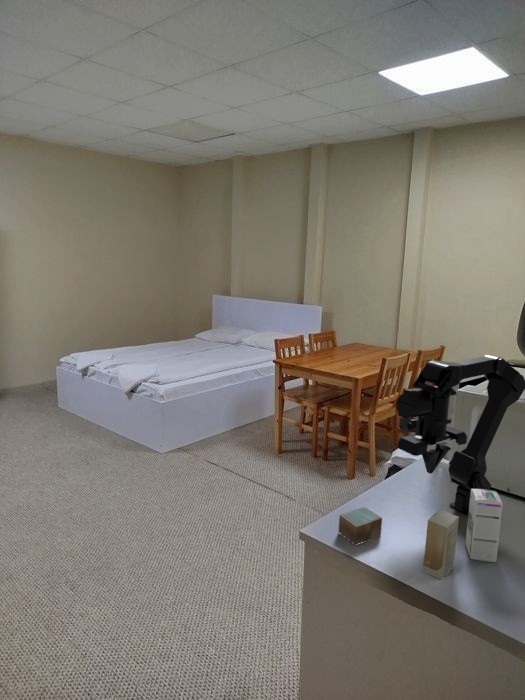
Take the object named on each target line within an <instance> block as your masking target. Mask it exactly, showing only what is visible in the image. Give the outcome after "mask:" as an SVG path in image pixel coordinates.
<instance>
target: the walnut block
mask: <svg viewBox="0 0 525 700" xmlns="http://www.w3.org/2000/svg"><path fill="white" fill-rule="evenodd" d="M338 519H339V521H338V533H339V532H340V533H341V534H342V535H343V536H345V537H346V538H347V539H349V540H350V541H351V542H353V543H354V544H355V545H356V544H358V543H361V542H364V541H367V542H369V541H368V540H370V541H372V539H373V540H375V539H378V538H380V537H382V536H381V535H382V525H383V524H382V522H383V517H381V516H379V514H376V513H375V512H373V511H372V510H370V509H369V508H367V507H366V506H363V507H360V508H357V509H354V510H351V511H350V510H349V511H347V512H344V513H340V514H339V518H338ZM342 535H341V536H342ZM343 536H342V537H343ZM346 538H345V539H346ZM347 539H346V540H347ZM351 542H350V543H351ZM364 543H365V542H364ZM355 545H354V546H355ZM356 546H357V545H356Z"/></svg>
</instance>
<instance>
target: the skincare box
mask: <svg viewBox="0 0 525 700" xmlns="http://www.w3.org/2000/svg"><path fill="white" fill-rule="evenodd" d="M459 519H460V517H459V516H458V515H455V514H454V513H453V514H452V513H449V512H447V511H445V510H442V509H439V510H437V511H436V512H435V513H433V514H432V515H431V517H429V518H428V519H427V523H426V524H427V526H426V536H425V538H426V539H425V547H424V558H423V559H424V560H423V566H422V567H423V568H422V571H423V573H424V572H425V573H427V574H429V575H430V576H433V577H435V578H437V579H439V580H441V581H442V580H443V579H445V578H446V576H447V575H449V573H450V572H451V571H452V570H453V568H454V565H455V559H456V558H455V555H456V548H457V547H456V545H457V537H458V527H459Z"/></svg>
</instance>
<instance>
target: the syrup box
mask: <svg viewBox="0 0 525 700" xmlns="http://www.w3.org/2000/svg"><path fill="white" fill-rule="evenodd" d="M503 505H504V503H503V502H502V499H501V498H500V496H499V494H498V492H497V491H496V490H486V489H471V494H470V503H469V513H468V515H467V524H466V526H467V527H466V534H465V549H466V551H467V554H468V557H469V559H471V560H474V561H475V560H476V561H482V562H489V563H490V562H491V563H497V558H498V550H499V549H498V548H499V539H500V532H501V522H502V521H501V520H502V513H503Z"/></svg>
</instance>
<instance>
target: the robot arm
mask: <svg viewBox="0 0 525 700" xmlns="http://www.w3.org/2000/svg"><path fill="white" fill-rule="evenodd" d="M480 376H481V377H482V376H484V377H485V379H486V380H487V381H488V383H487V385H486V390H487V396H488V400H487V401H486V403H485V405H484V408H483V409H482V410H483V411H482V413H481V415H480V417H479V419H478V421H477V423H476V426H475V428H474V429H473V432H472V434H471V436H470V439H469V440H468V435H467V433H466V432H465V431H464V430H463V431H462V430H460V429H457V428H455V427H451V426H448V424H451V423H452V419H451V418H449V407H450V399H451V398H450V397H451V396H456V395H457V391H456V390H455V389H454V388H453V387H455V386H459V384H460V383H461V382H462V381H464V380H467V379H471V378H475V377H480ZM435 386H436V387H435ZM411 387H412V388H404V389H403V392H402V393H401V394H400V395H399V396H398V398H397V400H396V402H395V406H396V411H397V414H398V415H399V416H400V418H399V421H398V422H399V423H398V425H399V430H400V431H402V432H403V431H404V434H408V433H415V434H414V435H415V436H414V435H411V434H410V435H406V436H402V437H400V438H398V439H397V449H398V450H401V451H403V452H405V453H407V454H409V455H411V456H414V457H415V456H416V457H417V456H422V460H423V463H424V467H425V469H426V470H425V471H426V473H427V474H430V475H431V474H433V473H434V471H435V470H436V469H437V467H438V466H439V464H440V463H441V461H442V460H443V459H444V458H445V456H446V454H448V452H449V451H451V450H452V448H451V447H450V446H448V444H447V442H448V441H449V442H450V441H454V440H455V443H456V444H457V445H459V446H462V445H466V444H467V445H466V447H465V448H463V450H460V451H458V450H456V451H455V452H454V453H453V455H452V459H451V460H450V461H449V463H448V470H447V471H448V472H449V478H450V482H451V483H453V484H455V485H457V486H456V492H455V496H454V501H453V502H450V503H449V506H450V507H451V508H452V509H455V510H457V511H459V512H461V513H462V514H463V515H464V514H465V515H466V516H468V513H469V503H470V494H471V489H486V490H490V489H491V487H492V484H491V483H490V481H489V480H488V479H487V477H486V472H487V469H488V468H487V461H486V455H487V453H488V451H489V449H490V446H491V444H492V442H493V441H494V438H495V437H496V433H497V432H498V430H499V427H500V425H501V422H502V420H503V418H504V416H505V414H506V412H507V409H508V408H509V407H510V406H512V405H513V404H514V403H516V402H517V401H519V400H520V398H521V396H522V395H523V392H525V377H524V375H523V374H521V372H519V371H518V370H517V369H515V368H514V366H513V367H512V365H510V364H509V363H508V362H507V361H506V360H505V358H503V357H502V356H501V357H500V356H497V355H493V354H485V355H483V356H480V357H474V358H468V359H464V360H460V361H459V360H458V361H444V360H430V361H429V360H428V361H427V362H426V363H425V365H424V367H423V368H422V369H421V371H420V373H419V374H418V376H417V378H416V379H415V381H414V382H413V384H412V386H411ZM410 418H411V419H410ZM416 436H418V437H420V438H418V437H416ZM467 440H468V441H467Z"/></svg>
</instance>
